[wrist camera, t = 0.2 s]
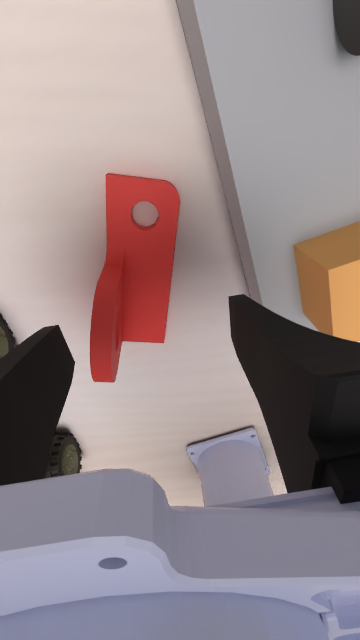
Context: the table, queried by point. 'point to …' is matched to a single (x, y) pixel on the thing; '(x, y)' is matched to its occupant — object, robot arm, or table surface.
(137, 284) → the bracket
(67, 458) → the toy jeep
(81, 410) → the table surface
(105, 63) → the table surface
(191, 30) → the dock
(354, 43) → the dolly
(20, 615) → the robot arm
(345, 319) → the chock
